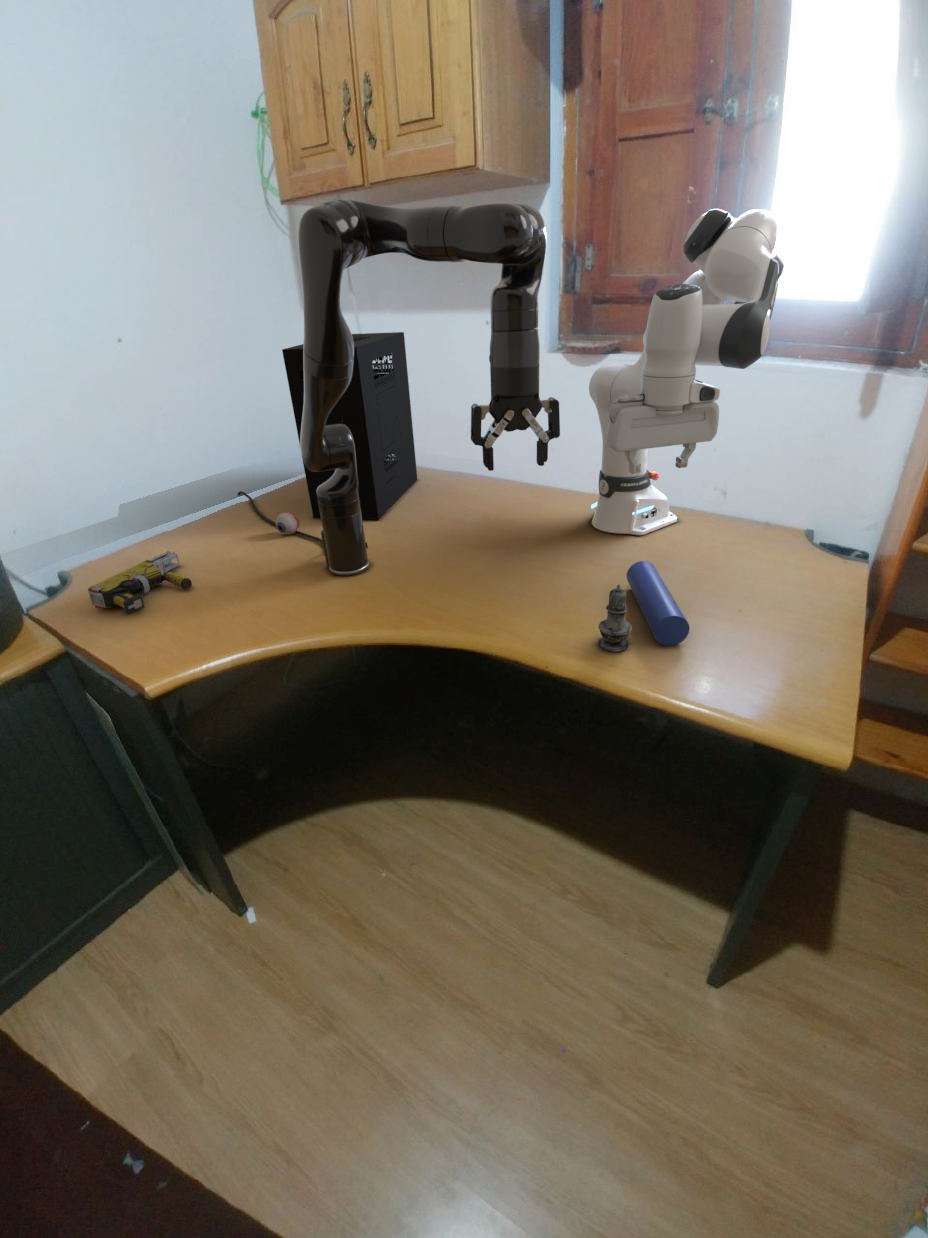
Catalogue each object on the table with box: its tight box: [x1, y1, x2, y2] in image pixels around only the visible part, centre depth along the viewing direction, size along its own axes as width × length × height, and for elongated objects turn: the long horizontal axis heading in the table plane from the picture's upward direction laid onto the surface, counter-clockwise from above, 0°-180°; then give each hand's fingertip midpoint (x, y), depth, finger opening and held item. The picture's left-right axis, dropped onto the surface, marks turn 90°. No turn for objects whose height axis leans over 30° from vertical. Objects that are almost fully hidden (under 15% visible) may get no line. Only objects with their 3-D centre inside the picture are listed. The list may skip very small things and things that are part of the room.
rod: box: [626, 560, 690, 646], centre depth 117 cm, size 23×6×6 cm, turn 179°
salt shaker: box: [597, 584, 633, 653], centre depth 106 cm, size 6×6×12 cm
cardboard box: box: [281, 331, 418, 521], centre depth 178 cm, size 38×20×45 cm, turn 167°
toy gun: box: [87, 550, 193, 615], centre depth 138 cm, size 5×24×15 cm
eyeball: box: [275, 511, 300, 536], centre depth 163 cm, size 6×6×6 cm
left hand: (515, 467), depth 100 cm, fingers open, 8 cm apart
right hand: (657, 469), depth 112 cm, fingers open, 8 cm apart
